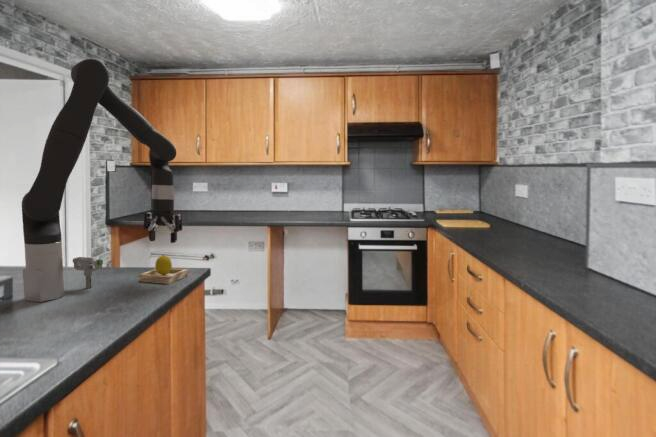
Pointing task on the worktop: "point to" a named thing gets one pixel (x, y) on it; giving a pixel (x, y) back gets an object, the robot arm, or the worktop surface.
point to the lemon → (163, 265)
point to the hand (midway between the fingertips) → (162, 241)
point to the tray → (167, 279)
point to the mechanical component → (87, 267)
